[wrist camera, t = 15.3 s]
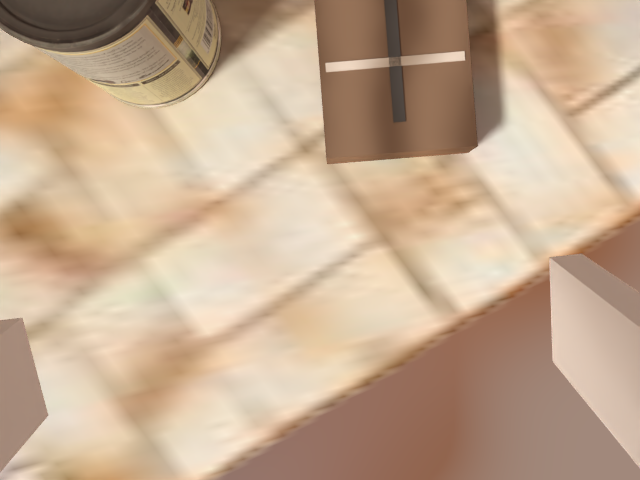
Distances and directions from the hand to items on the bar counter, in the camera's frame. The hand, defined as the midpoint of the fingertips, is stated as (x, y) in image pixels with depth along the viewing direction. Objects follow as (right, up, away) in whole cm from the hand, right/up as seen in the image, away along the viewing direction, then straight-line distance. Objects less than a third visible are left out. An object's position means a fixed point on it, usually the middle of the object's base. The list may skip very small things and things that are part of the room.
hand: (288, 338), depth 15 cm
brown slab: (+5, +22, +28) cm, 36 cm away
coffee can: (-11, +17, +29) cm, 35 cm away
